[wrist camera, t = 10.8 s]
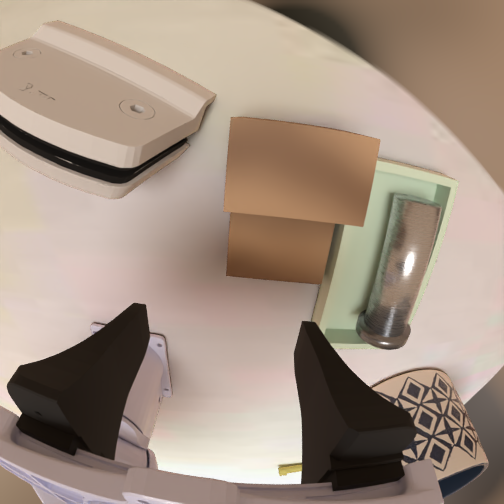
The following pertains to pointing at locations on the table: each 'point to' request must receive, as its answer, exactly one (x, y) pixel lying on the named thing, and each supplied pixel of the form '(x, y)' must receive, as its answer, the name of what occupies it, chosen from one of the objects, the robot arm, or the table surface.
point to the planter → (437, 427)
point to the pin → (400, 271)
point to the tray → (374, 250)
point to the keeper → (292, 195)
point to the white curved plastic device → (93, 110)
